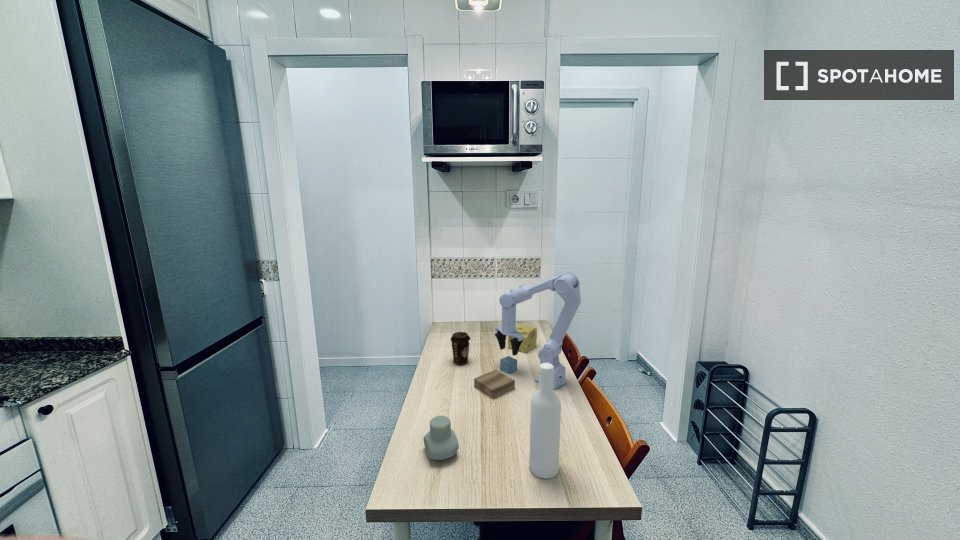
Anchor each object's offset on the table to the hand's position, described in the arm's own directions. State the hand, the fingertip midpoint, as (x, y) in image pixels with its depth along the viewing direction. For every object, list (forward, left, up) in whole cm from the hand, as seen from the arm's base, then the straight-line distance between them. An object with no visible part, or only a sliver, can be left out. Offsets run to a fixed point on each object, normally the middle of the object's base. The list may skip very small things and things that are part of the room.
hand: (508, 351), depth 151 cm
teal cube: (0, 0, -8) cm, 8 cm away
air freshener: (-24, +49, -9) cm, 55 cm away
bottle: (-47, +31, -8) cm, 57 cm away
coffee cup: (+19, +11, -8) cm, 24 cm away
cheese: (+13, -21, -9) cm, 26 cm away
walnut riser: (-7, +14, -9) cm, 18 cm away
